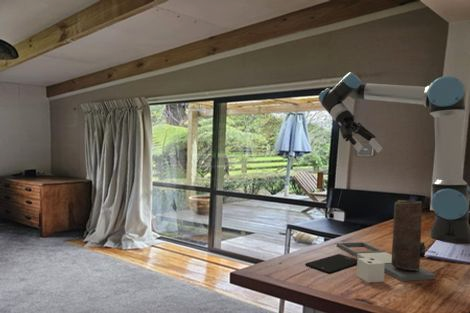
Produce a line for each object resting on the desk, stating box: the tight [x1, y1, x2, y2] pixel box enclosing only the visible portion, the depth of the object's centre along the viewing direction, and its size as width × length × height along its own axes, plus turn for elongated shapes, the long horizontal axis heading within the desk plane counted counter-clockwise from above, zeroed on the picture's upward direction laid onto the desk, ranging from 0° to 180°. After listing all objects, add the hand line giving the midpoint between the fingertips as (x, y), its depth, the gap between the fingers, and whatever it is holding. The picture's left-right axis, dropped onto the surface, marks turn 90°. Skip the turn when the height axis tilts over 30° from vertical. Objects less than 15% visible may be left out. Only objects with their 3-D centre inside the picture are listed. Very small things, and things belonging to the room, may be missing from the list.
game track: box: [336, 241, 436, 282], centre depth 112 cm, size 11×34×1 cm, turn 13°
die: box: [356, 257, 385, 283], centre depth 96 cm, size 5×5×5 cm
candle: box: [391, 199, 423, 271], centre depth 100 cm, size 8×7×20 cm
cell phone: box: [304, 253, 357, 275], centre depth 107 cm, size 9×18×1 cm, turn 129°
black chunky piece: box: [420, 241, 426, 258], centre depth 122 cm, size 12×7×5 cm, turn 36°
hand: (370, 150), depth 144 cm, fingers open, 13 cm apart
